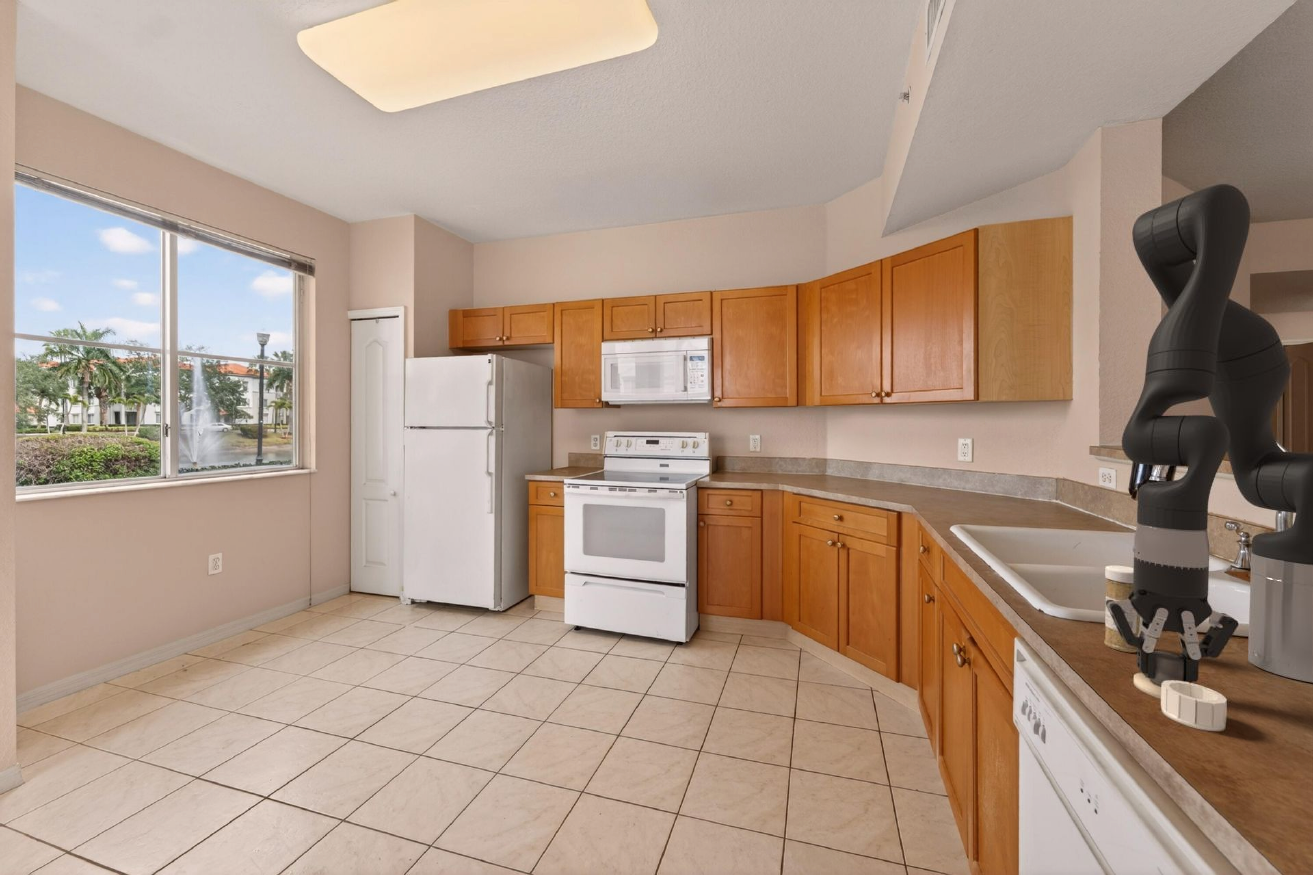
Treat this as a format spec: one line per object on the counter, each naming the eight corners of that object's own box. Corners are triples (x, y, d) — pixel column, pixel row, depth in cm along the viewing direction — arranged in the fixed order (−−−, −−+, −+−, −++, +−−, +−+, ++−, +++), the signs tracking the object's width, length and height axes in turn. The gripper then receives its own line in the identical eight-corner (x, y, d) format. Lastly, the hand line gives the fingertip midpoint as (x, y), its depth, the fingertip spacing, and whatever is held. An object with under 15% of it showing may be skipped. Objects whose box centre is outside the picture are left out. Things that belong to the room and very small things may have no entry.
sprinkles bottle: (1143, 649, 87) (1145, 569, 87) (1134, 656, 85) (1136, 573, 84) (1108, 639, 91) (1110, 563, 91) (1099, 646, 89) (1101, 567, 88)
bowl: (1187, 705, 70) (1188, 679, 70) (1239, 730, 64) (1239, 702, 64) (1149, 707, 70) (1149, 681, 69) (1197, 732, 64) (1198, 704, 64)
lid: (1162, 678, 78) (1163, 645, 77) (1215, 702, 71) (1216, 666, 71) (1120, 680, 77) (1121, 646, 77) (1170, 705, 70) (1171, 668, 70)
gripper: (1114, 558, 73) (1111, 680, 74) (1256, 571, 67) (1252, 704, 67) (1097, 547, 80) (1095, 658, 80) (1225, 557, 73) (1221, 678, 74)
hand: (1166, 678), depth 74 cm, fingers closed on lid, 3 cm apart
